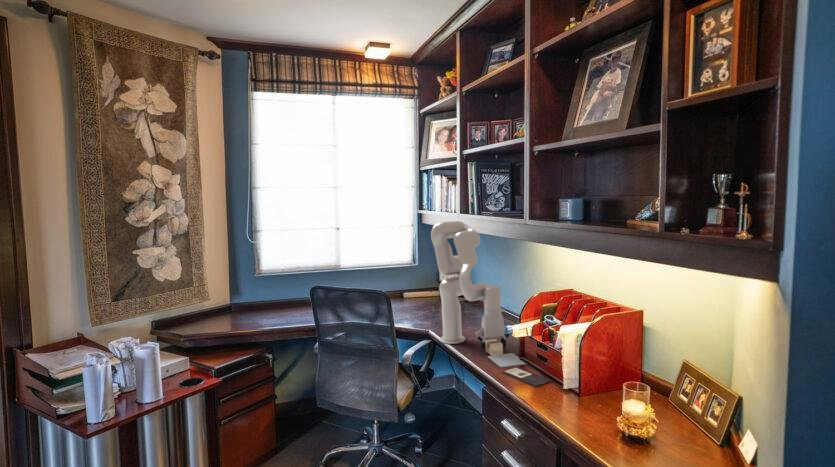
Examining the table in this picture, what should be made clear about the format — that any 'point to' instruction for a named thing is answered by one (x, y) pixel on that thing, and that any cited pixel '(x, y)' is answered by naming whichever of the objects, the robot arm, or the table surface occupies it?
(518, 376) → the chocolate bar
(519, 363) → the desk mat
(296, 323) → the table surface
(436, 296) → the table surface
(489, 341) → the maple block
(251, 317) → the table surface
